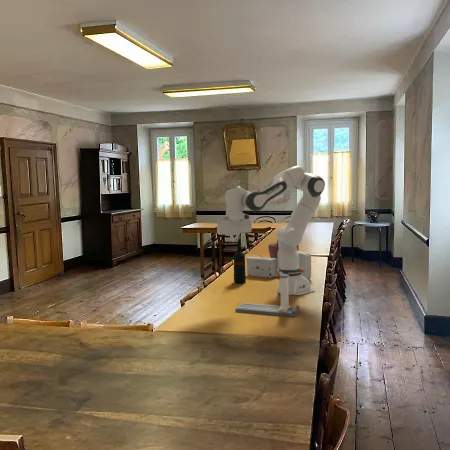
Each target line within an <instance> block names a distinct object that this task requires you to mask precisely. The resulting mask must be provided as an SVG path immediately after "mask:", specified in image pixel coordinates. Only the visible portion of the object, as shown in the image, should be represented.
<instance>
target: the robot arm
mask: <svg viewBox="0 0 450 450" xmlns="http://www.w3.org/2000/svg"><path fill="white" fill-rule="evenodd" d="M325 186H326V182H325V180H324V178H323V177H321V176H319V175H316V174H314V173H309V172H305V170H304V169H303V167H301V166H299V165H295V166H292V167H288V168H286V169H285V170H283V171H280V172H279V173H277V174H276V175H275V176H273V178H272V184H271V185H270V186H269V187H266V188H265V189H263V190H261V191H248V190H246V189H244V188H243V187H242V186H240V185H236V186H235V185H234V186H231V187H228V188H227V189H226V192H225V205H226V209H225V216H220V217H218V218H217V221H216V225H217V226H216V233H217V234H218V235H222V236H223V235H229V237H230V239H231V243H235V242H237V243H238V237H240V234H243V233H244V234H246V233H251V232H252V230H253V225H252V220H251V218H252V217H251V215H250V214H247V213H244V212H243V210H248V211H253V212H259V211H261V210H262V209H264V207H265V206H266V205H267V204H268V203H269V202H270V201H271V200H273V199H274V198H276V197H278V196H279V195H281V194H282V193H285V192H288V191H289V190H292V189H294V188H296V190H300V191H301V192H303V193H302V197H301V198H300V200H299V201H298V203H297V204H296V206H295V207H294V209H293V211H292V213H291V214H290V218H289V221H288V223H287V225H283V226H281V227H280V228H279V229H278V230H277V233H276V236H277V240H278V246H279V253H280V268H279V274H278V276H279V278H280V275H281V274H289V277H288V281H289V295H290V296H291V295H292V296H302V295H306V294H310V293H313V292H315V291H316V290H315V289H314V288H313V287H312V286H311V285H312V284H311V282H310V281H311V280H310V279H306V278H305V277H304V276H303V275H301V272H303V273H304V272H305V271H304V269H299V255H298V251H299V250H298V251H297V245H300V244H301V243H302V240H303V237H304V234H305V231H306V228H307V227H308V224H309V223H310V221H311V219H312V217H313V216H314V214H315V213H316V211H317V209H318V207H319V205H320V202H321V198H322V197H321V195H322V193H323V192H324V189H325ZM234 235H235V237H234ZM277 293H278V294H280V295H281V281H280V279H279V281H278V288H277Z"/></svg>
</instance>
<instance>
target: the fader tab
mask: <svg viewBox="0 0 450 450" xmlns="http://www.w3.org/2000/svg"><path fill="white" fill-rule="evenodd" d="M288 277H289V274H281V275H280V277H279V280H280V281H281V294H280V306H281V307H280V308H279V309H280V310H282V311H288V310H289V309H290V307H291V305H290V304H289V303H290V302H289V299H290V298H289V297H290V296H289V281H288Z"/></svg>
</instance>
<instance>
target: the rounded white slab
mask: <svg viewBox="0 0 450 450" xmlns="http://www.w3.org/2000/svg"><path fill="white" fill-rule="evenodd" d="M298 255H299V269H304V271H305V272H304V273H303V272H301V275H303V276H304V277H305V278H306V279H308V280H311V278H312V255H311V253H309V252H306V251H305V252H304V251H299V250H298ZM277 267H278V270H277V274H278V275H279V268H280V253H279V250H278V253H277Z"/></svg>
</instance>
